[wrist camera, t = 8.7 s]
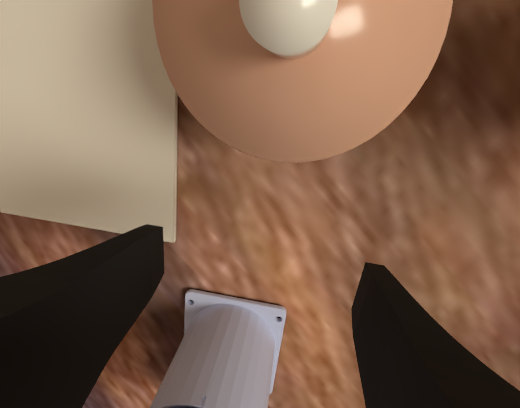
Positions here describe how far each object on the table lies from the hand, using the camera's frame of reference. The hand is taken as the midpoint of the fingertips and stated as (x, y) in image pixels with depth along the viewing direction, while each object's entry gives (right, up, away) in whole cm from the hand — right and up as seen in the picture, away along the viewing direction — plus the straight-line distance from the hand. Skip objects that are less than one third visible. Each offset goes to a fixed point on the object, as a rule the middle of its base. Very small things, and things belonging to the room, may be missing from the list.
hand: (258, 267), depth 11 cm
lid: (+1, +9, 0) cm, 9 cm away
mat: (-12, +8, +10) cm, 18 cm away
